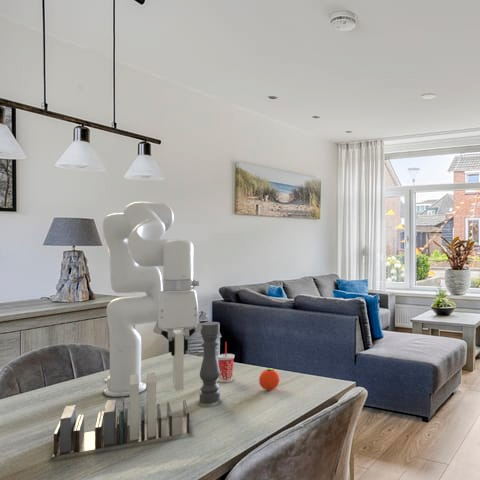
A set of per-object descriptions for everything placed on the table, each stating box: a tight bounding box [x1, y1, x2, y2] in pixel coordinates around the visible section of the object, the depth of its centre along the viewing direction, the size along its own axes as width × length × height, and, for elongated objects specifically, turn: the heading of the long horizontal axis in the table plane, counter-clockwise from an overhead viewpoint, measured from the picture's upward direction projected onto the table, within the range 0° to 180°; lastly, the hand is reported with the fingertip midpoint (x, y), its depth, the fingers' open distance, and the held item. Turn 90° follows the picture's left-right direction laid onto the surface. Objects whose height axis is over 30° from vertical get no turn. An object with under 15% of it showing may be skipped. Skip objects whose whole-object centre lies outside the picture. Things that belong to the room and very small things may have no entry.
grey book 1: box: [59, 404, 77, 453], centre depth 110 cm, size 2×9×8 cm, turn 26°
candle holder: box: [198, 321, 221, 404], centre depth 141 cm, size 6×6×25 cm
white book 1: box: [129, 374, 140, 441], centre depth 117 cm, size 2×9×14 cm, turn 26°
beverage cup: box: [216, 341, 236, 383], centre depth 164 cm, size 6×6×14 cm
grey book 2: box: [104, 399, 117, 445], centre depth 114 cm, size 2×9×8 cm, turn 26°
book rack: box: [52, 396, 191, 458], centre depth 116 cm, size 30×12×9 cm, turn 116°
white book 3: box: [172, 329, 185, 392], centre depth 121 cm, size 2×9×14 cm, turn 26°
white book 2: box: [146, 372, 157, 438], centre depth 119 cm, size 2×9×14 cm, turn 26°
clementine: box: [258, 367, 281, 391], centre depth 155 cm, size 8×7×7 cm
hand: (178, 353), depth 121 cm, fingers closed on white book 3, 2 cm apart
